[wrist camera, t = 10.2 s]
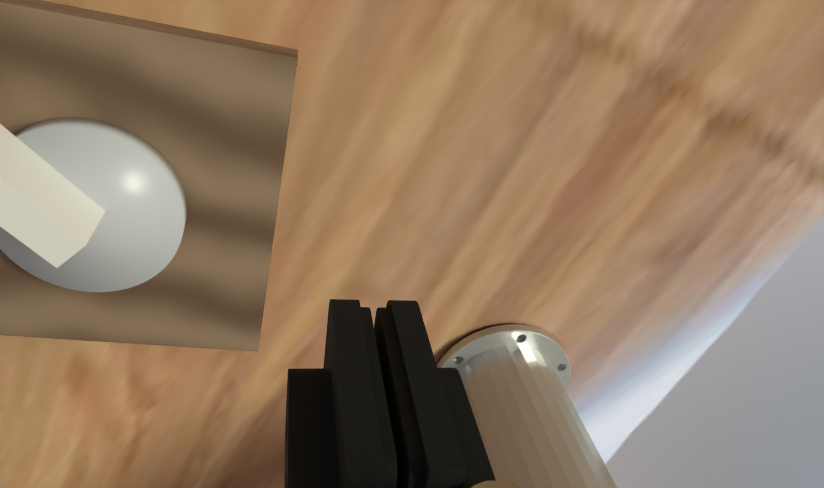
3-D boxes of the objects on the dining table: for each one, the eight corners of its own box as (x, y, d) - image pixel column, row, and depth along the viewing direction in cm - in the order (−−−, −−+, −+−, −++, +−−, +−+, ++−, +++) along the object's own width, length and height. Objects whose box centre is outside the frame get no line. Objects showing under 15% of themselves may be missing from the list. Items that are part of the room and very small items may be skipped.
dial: (224, 213, 39) (214, 261, 34) (102, 306, 41) (76, 364, 36) (-29, -26, 30) (-92, -8, 25) (-170, 107, 32) (-254, 148, 27)
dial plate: (259, 334, 47) (257, 353, 45) (-71, 311, 41) (-88, 331, 40) (297, 49, 37) (297, 58, 35) (-136, -34, 31) (-163, -28, 29)
